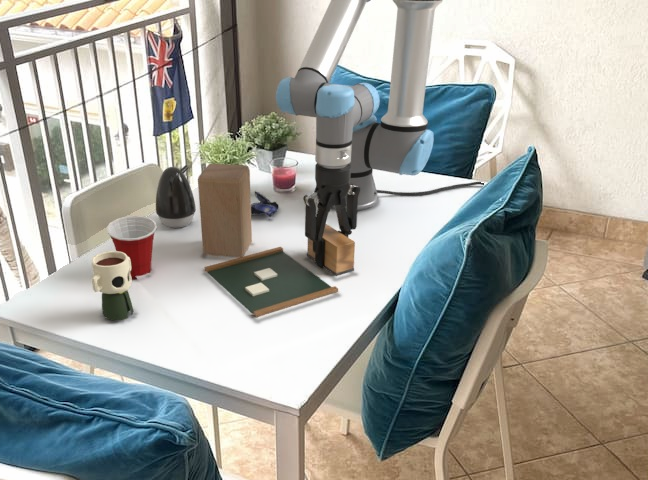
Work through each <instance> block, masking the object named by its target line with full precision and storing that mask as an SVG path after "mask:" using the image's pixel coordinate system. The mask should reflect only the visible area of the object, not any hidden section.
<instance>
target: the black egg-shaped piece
mask: <svg viewBox="0 0 648 480" xmlns="http://www.w3.org/2000/svg"><path fill="white" fill-rule="evenodd" d="M188 170H189V165H187V164H185V165H184V166H182V167H181V168H178V167H176V166H169V167H167V168H165V169H164V170H163V171H162V173H161V175H160V177H159V180H158V184H157V187H156V188H157V189H156V195H155V213H156V215H157V216H158V219H159V220H160V222H161V223H162V224H163V225H165V226H166V227H169V228H173V229H174V228H175V229H178V228H179V229H180V228H184V227H186V226H188V225H189V224H191V222H192V221H193V219H194V217H195V213H196V210H197V207H196V206H197V205H196V202H195V201H196V200H195V197H194V193H193V190H192V188H191V187H192V186H191V185H190V182H189V181H188V178H187V177H186V175H185V173H186V172H187V171H188Z"/></svg>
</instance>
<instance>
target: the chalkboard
mask: <svg viewBox="0 0 648 480" xmlns="http://www.w3.org/2000/svg"><path fill="white" fill-rule="evenodd" d="M267 268H270V269H272V270H273V271H274V272H275V273H277V276H276V277H273V278H269V279H266V280H263V281H262V280H260V279H259V278H258V277H257V276H256V275H254V272H257V271H260V270H264V269H267ZM204 271H205V272H206V273H207V274H208V275H209V276H210V277H211V278H212V279H214V280H215V281H216V282H217V283H218V284H219V285H220V286H221V287H222V288H223V289H225V290H226V291H227V292H228V293H229V294H230V295H231V296H232V297H233V298H234V299H235V300H236V301H238V302H239V303H240V304H241V305H242V306H243V307H244V308H245V309H247V311H248V312H250V313H251V314H252V315H253V316H254V317H255V318H259V317H262V316H265V315H269V314H272V313H275V312H278V311H281V310H285V309H288V308H292V307H293V306H298V305H301V304H304V303H307V302H310V301H314V300H317V299H320V298H323V297H326V296H329V295H333V294H335V293H338V292H339V288H338V287H337V286H331V285H329V284H328V283H327V282H326V281H325V280H323V279H321V277H319V276H318V275H316V274H315V273H313V272H312V271H310V269H308V268H306V267H305V266H304V265H302V264H301V263H300V262H298V261H297V260H295V259H294V258H293V257H292V256H290V255H288V253H286V252H285V251H284V248H283V247H282V246H277V247H273V248H270V249H267V250H263V251H259V252H255V253H252V254H248V255H247V254H246V255H244V256H243V257H235V258H232V259H229V260H225V261H222V262H218V263H214V264H210V265H206V266H204ZM258 283H262V284H263V285H265V286H266V287H267V288H268V289H269V292H266V293H262V294H259V295H256V296H252V295H251V294H250V293H249V292H247V291H246V290H245V287H248V286H251V285H254V284H258Z"/></svg>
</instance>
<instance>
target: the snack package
mask: <svg viewBox="0 0 648 480" xmlns="http://www.w3.org/2000/svg"><path fill="white" fill-rule="evenodd" d="M254 197H255V198H256V199H257V201H258V202H253V203H251V215H255V216H256V215H265V216H268V217H270V218H271V217H272V216H274V215H275V213H277V212H278V211H279V208H280V206H279V204H278V203H277V201H273V202H271V200H270V199H269V198H268V197H266V196H265V195H264V194H262V193H260V192H258V191H256V190H255V191H254ZM269 220H271V219H269Z"/></svg>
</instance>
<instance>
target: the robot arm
mask: <svg viewBox="0 0 648 480" xmlns="http://www.w3.org/2000/svg"><path fill="white" fill-rule="evenodd" d="M371 1H372V0H330V1H329V4H328V6H327V8H326V11H325V13H324V14H323V16H322V19H321V21H320V23H319V25H318V28H317V30H316V32H315V34H314V35H313V37H312V39H311V43H310V45H309V47H308V49H307V51H306V53H305V55H304V57H303V58H302V61H301V63H300V66H299V68H298V69H297V72H296V73H295V76H294V77H284V78H283V79H282V80H280V82H279V83H278V84H277V88H276V93H275V99H276V100H275V102H276V105H277V106H278V109H279V110H280V111H281V112H283V113H285V114H290V115H295V116H301V117H309V118H310V117H311V118H315V152H314V153H315V157H314V159H315V163H316V164H315V165H314V166H315V167H314V180H315V187H314V190H313V192H312V193H311V194H310V195H307V194H305V195H303V202H304V205H305V206H304V207H305V208H304V209H305V212H304V213H305V214H304V236H305V237H306V238H307V239H308V238H309V239H310V240H312V241H313V252H315V261H314V263H315V264H316V266H319V267H320V268H321V269H322V268H324V262H325V240H323V239H322V237H323V233H324V229H325V225H326V224H327V220H328V216H329V213H330V212H331V211H332V209H334V210H335V213H336V219H337V222H338V229H339V230H337V231H338V232H340V233H341V234H343V235H345V236H346V237H348V238H349V236H351V235H352V233H353V231H352V230H356V229H357V227H358V226H357V225H358V211H363V210H368V209H371V208H372V207H374V206H376V205H377V203H378V196H379V195H378V194H385V195H392V196H393V195H394V196H422V195H429V194H430V195H431V194H435V193H438V192H442V191H446V190H447V191H448V190H452V189H456V188H463V187H464V188H465V187H472V186H476V185H481V186H484V183H485V182H484V183H481V182H482V181H473V182H468V183H467V182H466V183H457V184H453V185H448V186H443V187H439V188H434V189H431V190H426V191H415V192H414V191H413V192H409V191H408V192H407V191H403V192H402V191H391V190H382V189H377V187H376V183H375V180H374V175H373V172H374V171H373V170H376V171H382V172H388V173H393V174H398V175H400V176H403V175H404V176H411V177H412V176H417V175H418V174H420V173H421V172H422V171H423V169H424V168H425V167H426V165H427V163H428V161H429V159H430V156H431V153H432V151H433V146H434V140H435V138H434V137H435V136H434V132H433V131H432V130H431V129H428V124H429V123H428V119H427V118H426V117H425V115H424V114H423V113H424V105H425V96H426V95H425V94H426V88H427V78H428V71H429V63H430V53H431V46H432V37H433V28H434V27H433V26H434V21H435V20H434V19H435V12H436V8H437V7H438V6H439V5H440V4H441V3H442V2H443V0H392V3H394V5H395V6H396V8H397V10H396V19H395V33H394V41H393V51H392V52H393V54H392V63H391V72H390V73H391V74H390V83H389V84H390V85H389V95H388V105H387V106H388V107H387V112H386V113H385V114H384V115H383V116H382V117H381V118H380V122H377V116H376V115H375V114H376V113H377V111H378V109H379V107H380V103H381V102H380V99H381V98H380V94H379V92H378V90H377V88H376V87H374V85H372V84H371V83H368V82H360V83H359V82H358V83H354V84H353V85H348V84H338V83H331V80H332V79H333V75H334V73H335V71H336V69H337V67H338V65H339V63H340V60H341V58H342V57H343V53H344V52H345V50H346V47H347V45H348V43H349V41H350V38H351V37H352V35H353V32H354V30H355V28H356V26H357V23H358V21H359V19H360V17H361V15H362V13H363V10H364V9H365V6H366V4H367V3H369V2H371ZM317 200H318V201H317Z"/></svg>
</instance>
